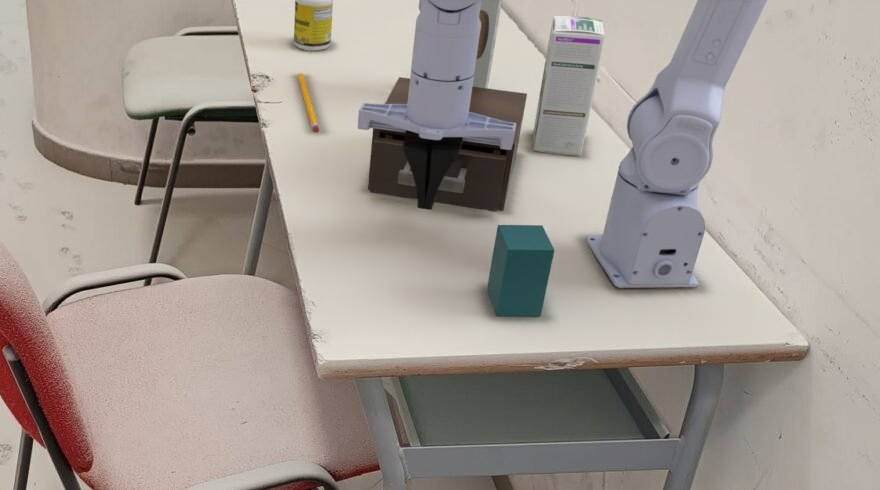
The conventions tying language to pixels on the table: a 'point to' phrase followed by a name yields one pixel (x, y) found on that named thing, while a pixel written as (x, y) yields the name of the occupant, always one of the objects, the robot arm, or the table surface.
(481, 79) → the supplement box
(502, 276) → the teal rectangular block
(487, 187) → the drawer
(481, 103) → the cabinet
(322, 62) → the table surface
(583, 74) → the syrup box
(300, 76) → the pencil
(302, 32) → the supplement bottle
